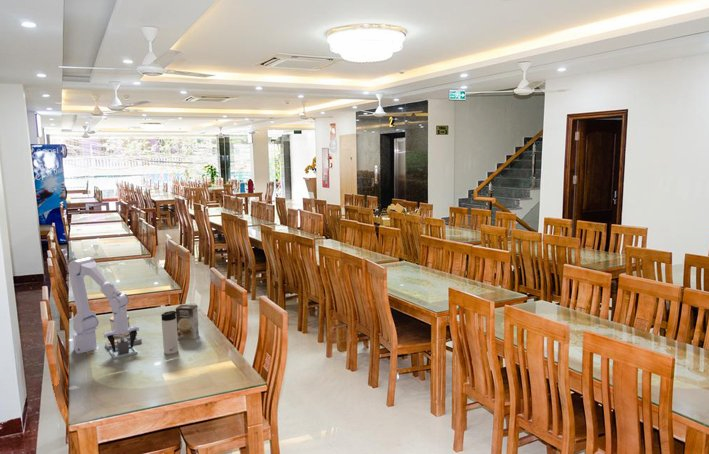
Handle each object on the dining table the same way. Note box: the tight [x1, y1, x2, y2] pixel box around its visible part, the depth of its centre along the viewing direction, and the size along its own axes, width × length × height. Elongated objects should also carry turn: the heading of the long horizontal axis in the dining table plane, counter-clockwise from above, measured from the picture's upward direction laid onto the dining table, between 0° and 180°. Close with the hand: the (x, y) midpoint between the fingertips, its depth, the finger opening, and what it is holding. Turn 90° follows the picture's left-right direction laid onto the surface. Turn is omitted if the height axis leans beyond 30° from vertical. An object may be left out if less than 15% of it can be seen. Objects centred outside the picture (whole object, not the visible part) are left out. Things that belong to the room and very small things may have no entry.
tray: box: [108, 346, 139, 360], centre depth 233 cm, size 10×10×2 cm
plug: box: [116, 336, 129, 355], centre depth 232 cm, size 4×4×8 cm
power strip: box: [104, 334, 143, 351], centre depth 243 cm, size 15×7×3 cm, turn 126°
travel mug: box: [161, 310, 179, 356], centre depth 232 cm, size 6×7×20 cm
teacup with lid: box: [109, 314, 131, 338], centre depth 260 cm, size 12×9×12 cm
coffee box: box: [175, 304, 200, 340], centre depth 252 cm, size 9×6×16 cm
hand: (123, 348), depth 233 cm, fingers open, 7 cm apart
